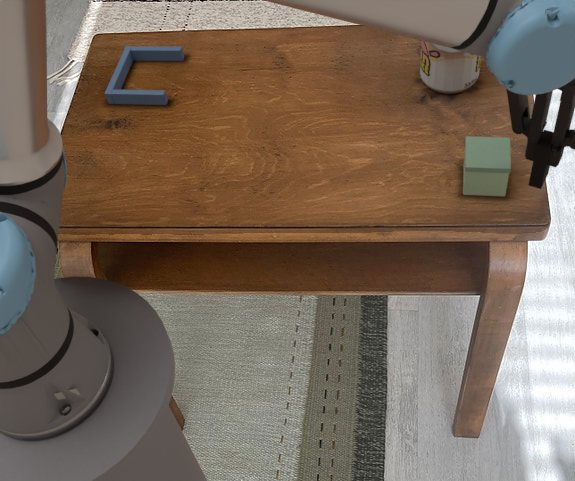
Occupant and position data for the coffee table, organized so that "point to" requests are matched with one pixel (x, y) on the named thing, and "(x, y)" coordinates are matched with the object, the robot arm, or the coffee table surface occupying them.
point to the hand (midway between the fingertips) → (538, 179)
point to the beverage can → (447, 68)
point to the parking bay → (122, 69)
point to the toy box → (486, 166)
